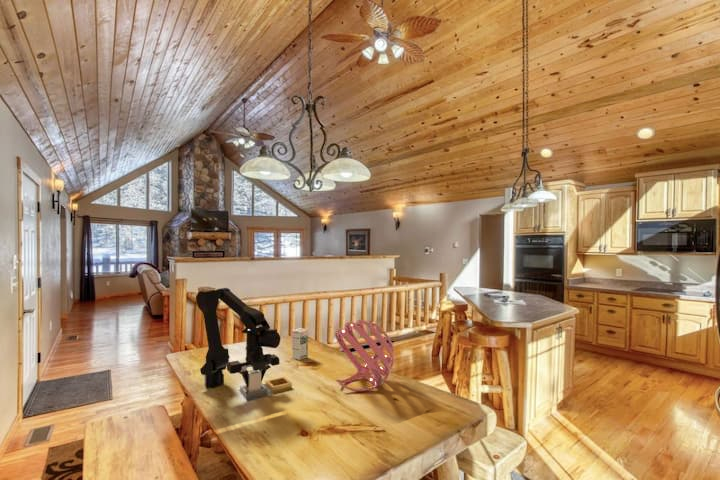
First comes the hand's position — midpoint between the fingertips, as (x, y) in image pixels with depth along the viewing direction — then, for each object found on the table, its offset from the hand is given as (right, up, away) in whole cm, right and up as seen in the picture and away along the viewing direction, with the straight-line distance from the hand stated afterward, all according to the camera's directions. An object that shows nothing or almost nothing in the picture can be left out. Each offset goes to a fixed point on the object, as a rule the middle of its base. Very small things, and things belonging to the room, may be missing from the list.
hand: (253, 385), depth 132 cm
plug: (0, -3, 0) cm, 3 cm away
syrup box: (+10, -5, +46) cm, 47 cm away
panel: (+4, -4, +3) cm, 6 cm away
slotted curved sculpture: (+43, -4, +10) cm, 44 cm away
